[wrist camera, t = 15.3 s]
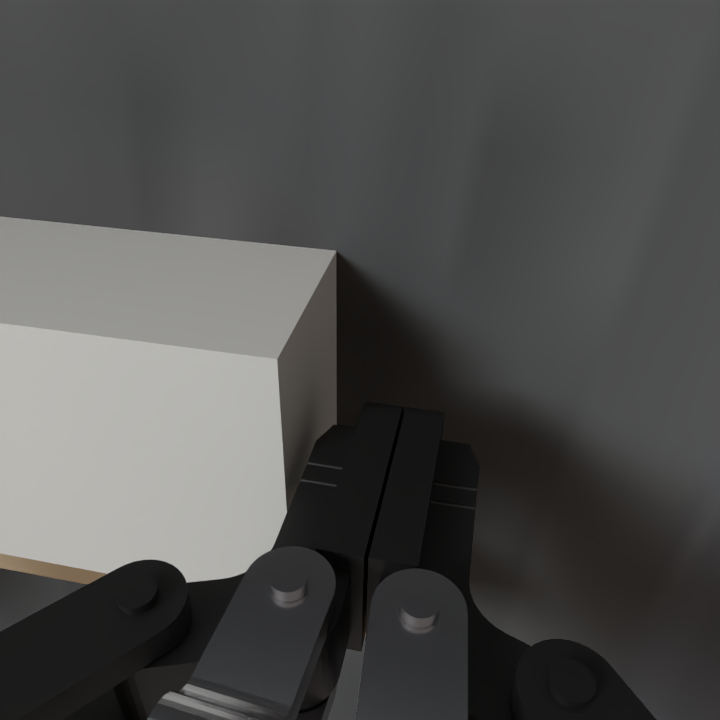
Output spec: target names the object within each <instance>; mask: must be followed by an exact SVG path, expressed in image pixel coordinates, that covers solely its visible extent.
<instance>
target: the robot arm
mask: <svg viewBox="0 0 720 720" xmlns="http://www.w3.org/2000/svg"><path fill="white" fill-rule="evenodd" d="M444 415H445V413H443V412H436V411H428V410H421V409H414V408H407V407H406V409H405V413H404V407H399V406H392V405H385V404H378V403H371V402H365V403H364V405H363V408H362V411H361V414H360V417H359V420H358V423H357V426H356V428H354V427H348V426H341V425H333V426H332V427H331V428H330V429H328V430H327V431H326V432H325V433H324V434H323V435H322V436H321V437H320V438H318V439H317V440H316V442H315V444H314V447H313V449H312V452H311V454H310V457H309V459H308V464H307V465H306V467H305V469H304V472H303V474H302V477H301V481H300V482H299V484H298V487H297V489H296V492H295V494H294V497H293V499H292V502H291V504H290V506H289V509H288V511H287V514H286V516H285V519H284V521H283V524H282V526H281V529H280V531H279V534H278V536H277V539H276V541H275V544H274V546H273V548H272V550H271V551H269V552H266V553H265V554H263V555H261V556H260V557H259V558H257V559H256V560H255V561H254V562H253V563H252V564H251V565H250V567H249V568H248V570H247V571H246V572H244V573H242V574H240V575H237V576H233V577H230V578H224V579H216V580H207V581H197V582H188V583H186V580H185V577H184V576H183V574H182V573H181V572H180V570H179V569H178V568H176V567H175V566H173V565H172V564H170V563H167V562H164V561H160V560H151V559H150V560H140V561H135V562H132V563H129V564H126V565H124V566H121V567H119V568H117V569H115V570H114V571H112V572H110V573H108V574H106V575H104V576H103V577H101V578H99V579H97V580H95V581H93V582H91V583H90V584H88V585H86V586H84V587H82V588H80V589H79V590H77V591H75V592H73V593H71V594H69V595H67V596H66V597H64V598H62V599H60V600H58V601H56V602H54V603H53V604H51V605H49V606H47V607H45V608H43V609H42V610H40V611H38V612H36V613H34V614H32V615H30V616H29V617H27V618H25V619H23V620H21V621H19V622H18V623H16V624H14V625H12V626H10V627H8V628H6V629H5V630H3V631H1V632H0V720H327V719H328V716H329V713H330V710H331V707H332V704H333V701H334V698H335V694H336V686H337V682H338V679H339V676H340V672H341V668H342V664H343V660H344V656H345V652H346V649H351V650H356V651H361V650H362V646H363V641H364V637H365V633H366V642H365V651H364V658H363V665H362V672H361V680H360V687H359V694H358V701H357V709H356V716H355V720H656V719H655V718H654V716H653V715H652V714H651V713H650V712H649V711H648V709H647V708H646V707H645V706H644V705H643V703H642V702H641V701H640V700H639V699H638V698H637V696H636V695H635V694H634V693H633V692H632V690H631V689H630V688H629V687H628V686H627V685H626V683H625V682H624V681H623V680H622V679H621V677H620V676H619V675H618V674H617V673H616V672H615V670H614V669H613V668H612V667H611V666H610V665H609V664H608V663H607V662H606V660H605V659H604V658H602V657H601V656H600V655H599V654H597V653H596V652H595V651H593V650H591V649H590V648H588V647H586V646H584V645H582V644H579V643H576V642H573V641H570V640H563V639H550V640H544V641H541V642H539V643H536V644H534V645H533V646H529V645H527V644H525V643H524V642H522V641H520V640H518V639H516V638H514V637H512V636H510V635H508V634H506V633H504V632H503V631H501V630H499V629H498V628H496V627H495V626H494V625H492V624H491V623H490V622H489V621H488V620H487V619H486V618H485V617H484V616H483V615H482V614H481V612H480V611H479V610H478V608H477V607H476V605H475V603H474V601H473V599H472V596H471V593H470V588H469V574H470V563H471V552H472V540H473V529H474V518H475V507H476V496H477V485H478V473H479V464H478V462H477V460H476V458H475V456H474V453H473V451H472V449H471V447H470V445H469V444H463V443H457V442H450V441H443V440H442V434H443V425H444Z"/></svg>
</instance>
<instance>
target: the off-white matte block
mask: <svg viewBox="0 0 720 720" xmlns="http://www.w3.org/2000/svg"><path fill="white" fill-rule="evenodd" d="M333 425H337V305H336V251H333V250H323V249H313V248H303V247H293V246H283V245H274V244H264V243H254V242H244V241H234V240H225V239H215V238H205V237H195V236H185V235H176V234H166V233H156V232H146V231H136V230H126V229H117V228H107V227H97V226H87V225H77V224H68V223H58V222H48V221H38V220H28V219H18V218H9V217H0V553H1V554H6V555H11V556H17V557H22V558H27V559H32V560H38V561H43V562H48V563H53V564H59V565H64V566H69V567H74V568H80V569H85V570H90V571H96V572H101V573H106V574H108V573H110V572H112V571H114V570H115V569H117V568H119V567H121V566H124V565H126V564H129V563H132V562H135V561H140V560H150V559H151V560H160V561H164V562H167V563H170V564H172V565H173V566H175V567H176V568H178V569H179V570H180V572H181V573H182V574H183V576H184V577H185V580H186V583H188V582H197V581H207V580H216V579H224V578H230V577H233V576H237V575H240V574H242V573H244V572H246V571H247V570H248V568H249V567H250V565H251V564H252V563H253V562H254V561H255V560H256V559H257V558H259V557H260V556H261V555H263V554H265V553H266V552H269V551H271V550H272V548H273V546H274V544H275V541H276V539H277V536H278V534H279V531H280V529H281V526H282V524H283V521H284V519H285V516H286V514H287V511H288V509H289V506H290V504H291V502H292V499H293V497H294V494H295V492H296V489H297V487H298V484H299V482H300V481H301V477H302V474H303V472H304V469H305V467H306V465H307V464H308V459H309V457H310V454H311V452H312V449H313V447H314V444H315V442H316V440H317V439H318V438H320V437H321V436H322V435H323V434H324V433H325V432H326V431H327V430H328V429H330V428H331V427H332V426H333Z"/></svg>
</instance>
